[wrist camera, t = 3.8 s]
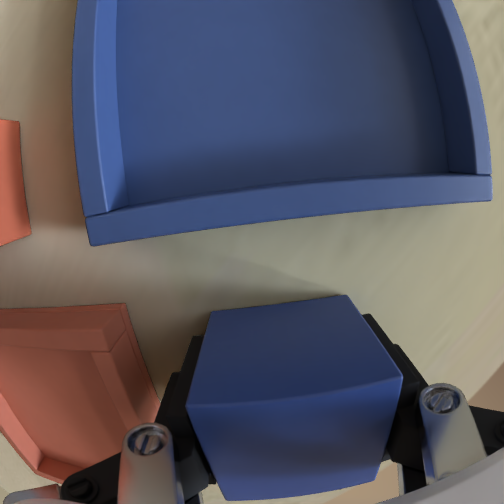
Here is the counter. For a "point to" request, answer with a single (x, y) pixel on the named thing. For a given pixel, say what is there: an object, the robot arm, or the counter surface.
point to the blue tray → (270, 112)
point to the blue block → (292, 399)
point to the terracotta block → (12, 185)
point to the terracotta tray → (71, 385)
